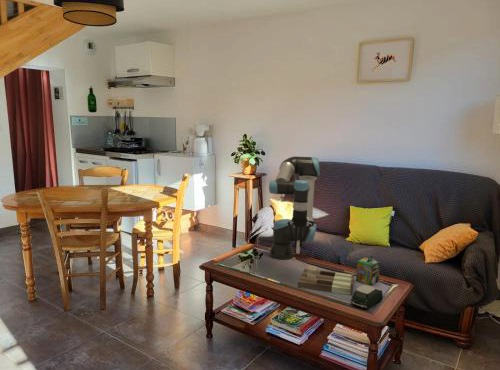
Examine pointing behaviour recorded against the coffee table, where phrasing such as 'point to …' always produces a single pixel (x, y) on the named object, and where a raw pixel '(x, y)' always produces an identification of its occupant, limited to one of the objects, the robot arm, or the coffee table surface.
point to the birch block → (312, 272)
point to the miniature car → (366, 296)
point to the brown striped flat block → (328, 282)
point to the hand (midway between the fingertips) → (298, 252)
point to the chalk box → (368, 270)
